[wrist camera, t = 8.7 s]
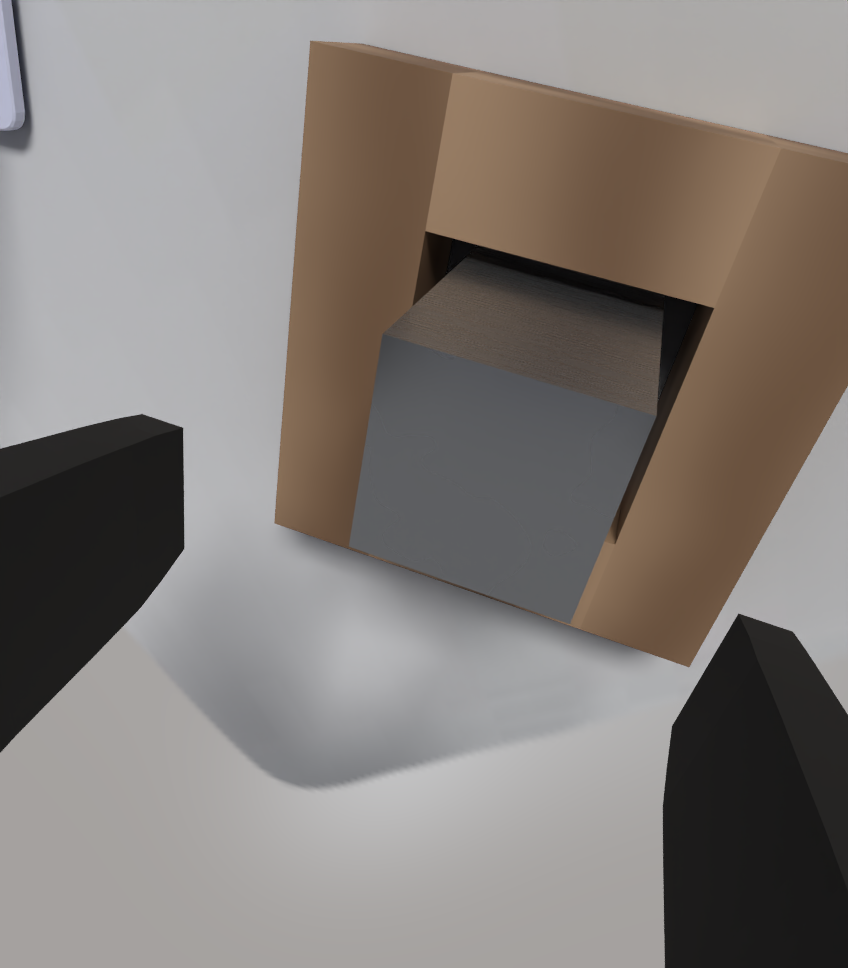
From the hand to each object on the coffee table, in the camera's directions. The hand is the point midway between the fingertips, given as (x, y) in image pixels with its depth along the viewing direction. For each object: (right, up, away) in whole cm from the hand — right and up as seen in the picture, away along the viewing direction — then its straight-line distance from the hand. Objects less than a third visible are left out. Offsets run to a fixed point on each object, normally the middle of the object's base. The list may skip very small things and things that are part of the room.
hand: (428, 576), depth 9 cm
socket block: (+3, +4, +8) cm, 9 cm away
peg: (+3, +5, +8) cm, 9 cm away
